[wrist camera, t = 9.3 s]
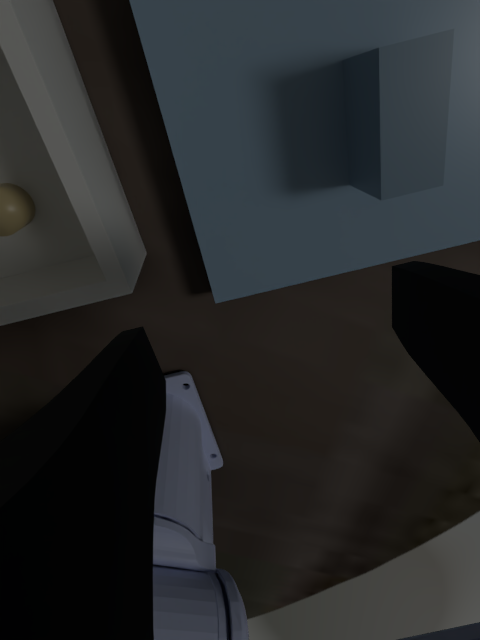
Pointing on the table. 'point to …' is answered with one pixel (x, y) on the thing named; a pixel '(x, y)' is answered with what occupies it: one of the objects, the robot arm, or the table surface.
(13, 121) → the parts tub
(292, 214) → the snap lid
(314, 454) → the table surface
